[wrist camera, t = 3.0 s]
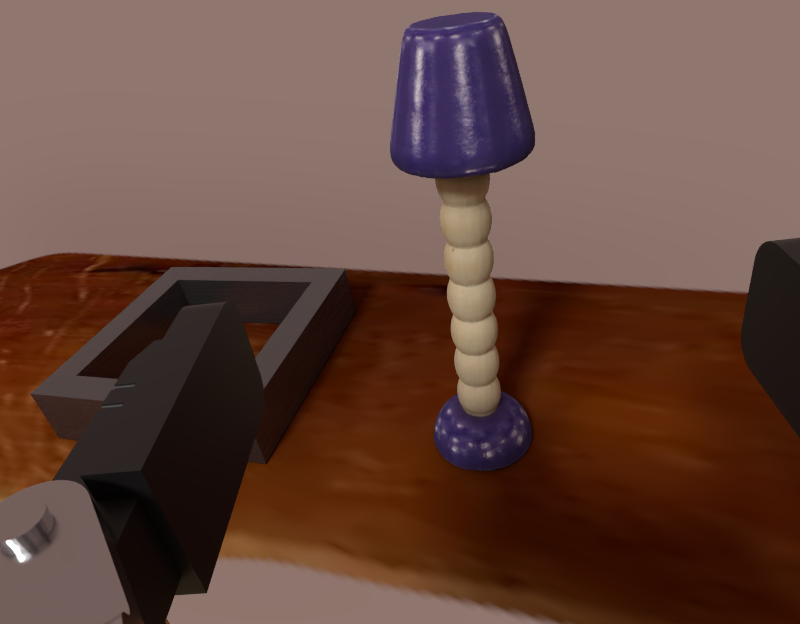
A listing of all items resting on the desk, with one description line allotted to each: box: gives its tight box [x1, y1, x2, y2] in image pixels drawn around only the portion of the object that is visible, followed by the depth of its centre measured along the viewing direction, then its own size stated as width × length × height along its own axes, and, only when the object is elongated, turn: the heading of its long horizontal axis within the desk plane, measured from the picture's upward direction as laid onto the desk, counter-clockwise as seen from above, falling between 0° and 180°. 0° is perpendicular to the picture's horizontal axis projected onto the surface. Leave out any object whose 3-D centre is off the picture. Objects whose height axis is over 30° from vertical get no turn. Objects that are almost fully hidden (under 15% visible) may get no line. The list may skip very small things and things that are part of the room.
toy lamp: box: [390, 12, 535, 471], centre depth 22 cm, size 5×5×17 cm
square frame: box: [31, 267, 355, 464], centre depth 33 cm, size 12×12×3 cm
